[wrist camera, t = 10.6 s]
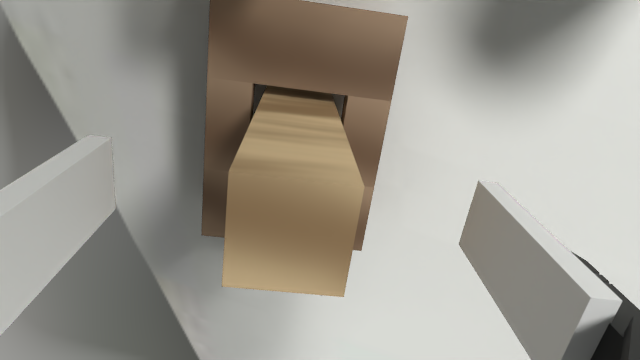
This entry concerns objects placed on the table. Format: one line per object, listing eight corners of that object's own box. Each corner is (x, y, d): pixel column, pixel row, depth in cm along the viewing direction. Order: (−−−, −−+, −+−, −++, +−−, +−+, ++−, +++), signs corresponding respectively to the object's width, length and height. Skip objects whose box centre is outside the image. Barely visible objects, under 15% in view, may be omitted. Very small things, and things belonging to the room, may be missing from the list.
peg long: (268, 82, 27) (228, 171, 12) (330, 90, 27) (364, 186, 12) (263, 141, 28) (221, 286, 14) (321, 148, 29) (343, 297, 14)
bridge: (225, -10, 25) (210, -14, 21) (390, 15, 26) (408, 16, 22) (215, 203, 30) (201, 235, 26) (353, 217, 31) (361, 250, 27)
